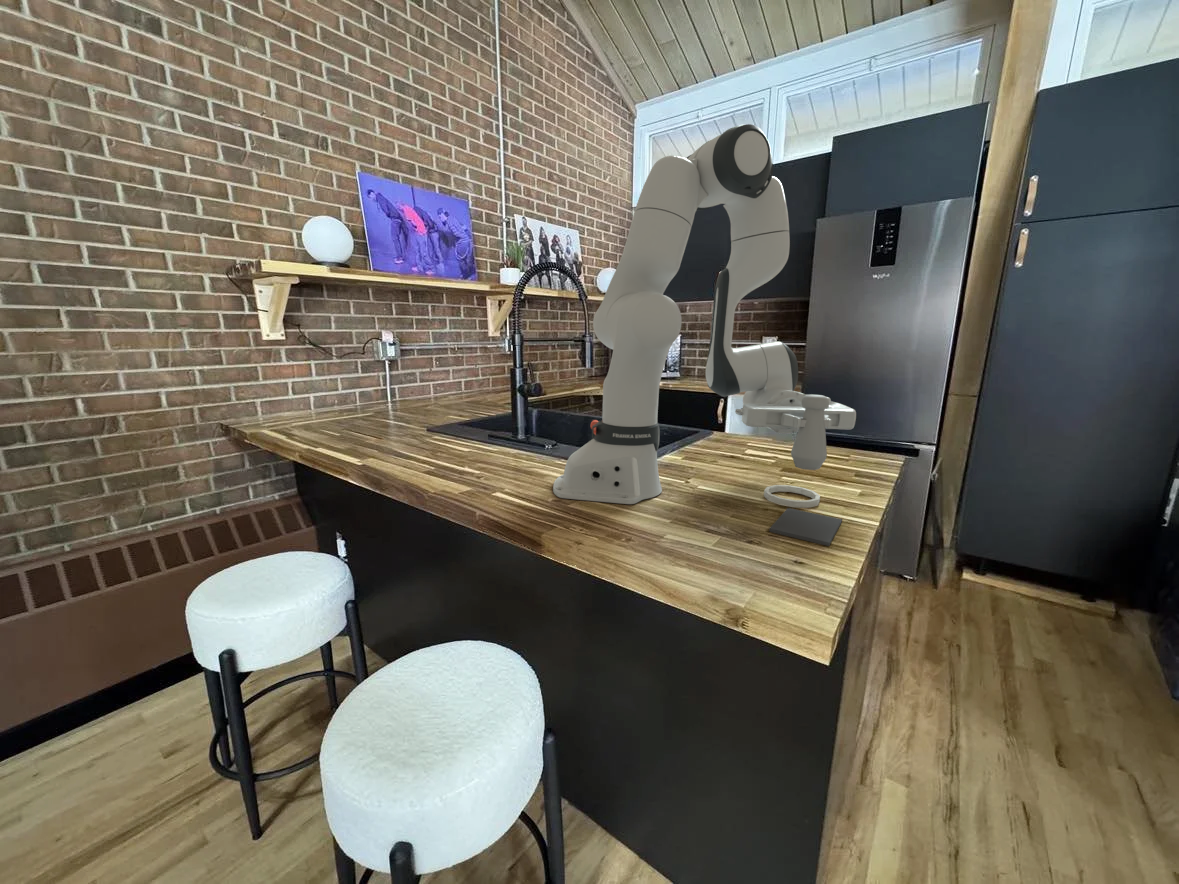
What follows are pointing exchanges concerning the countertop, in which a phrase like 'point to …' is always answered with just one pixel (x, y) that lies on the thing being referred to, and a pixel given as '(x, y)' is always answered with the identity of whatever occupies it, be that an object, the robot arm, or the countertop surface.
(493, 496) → the countertop surface
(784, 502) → the ceramic ring
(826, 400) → the salt shaker
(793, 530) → the rubber mat
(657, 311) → the robot arm
